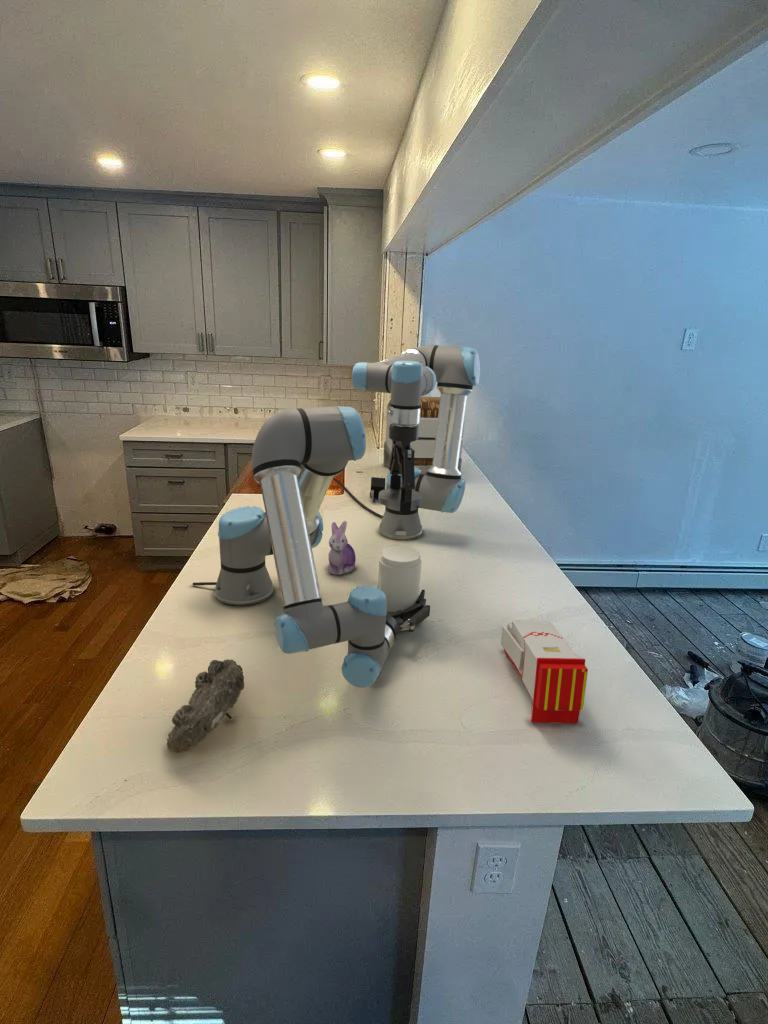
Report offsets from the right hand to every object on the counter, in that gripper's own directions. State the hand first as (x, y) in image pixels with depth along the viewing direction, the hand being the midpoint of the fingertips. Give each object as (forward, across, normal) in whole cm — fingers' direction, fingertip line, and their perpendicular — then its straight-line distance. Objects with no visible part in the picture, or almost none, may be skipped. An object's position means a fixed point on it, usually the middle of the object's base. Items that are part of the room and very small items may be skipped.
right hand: (399, 505), depth 151 cm
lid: (-3, 0, 0) cm, 3 cm away
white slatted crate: (+25, -117, +39) cm, 126 cm away
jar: (+25, +16, -3) cm, 30 cm away
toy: (+25, +45, +21) cm, 56 cm away
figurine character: (+25, -80, +11) cm, 84 cm away
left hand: (+19, +12, -1) cm, 23 cm away
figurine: (+25, -15, -13) cm, 32 cm away
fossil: (+26, +46, -46) cm, 70 cm away
